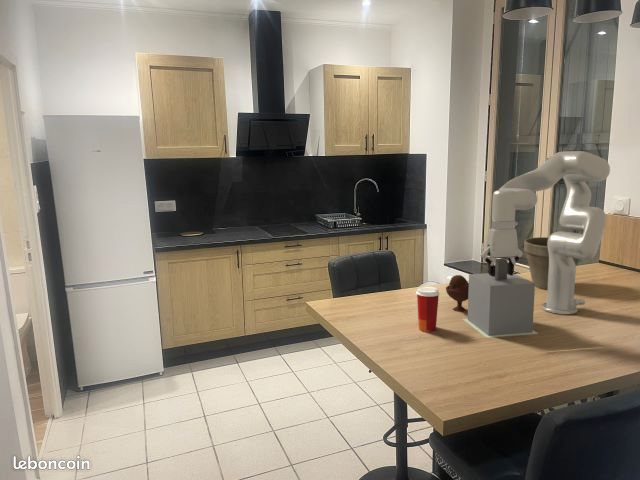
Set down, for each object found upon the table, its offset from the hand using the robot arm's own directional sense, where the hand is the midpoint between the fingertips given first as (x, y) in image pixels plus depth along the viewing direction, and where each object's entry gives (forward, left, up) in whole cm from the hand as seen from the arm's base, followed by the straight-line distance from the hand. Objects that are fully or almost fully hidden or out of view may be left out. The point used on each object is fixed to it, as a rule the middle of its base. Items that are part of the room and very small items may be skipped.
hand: (500, 274), depth 162 cm
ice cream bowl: (+6, -20, -20) cm, 29 cm away
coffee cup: (+26, -3, -20) cm, 33 cm away
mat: (0, 0, -20) cm, 20 cm away
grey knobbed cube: (0, 0, -19) cm, 19 cm away
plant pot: (-50, -44, -20) cm, 69 cm away
